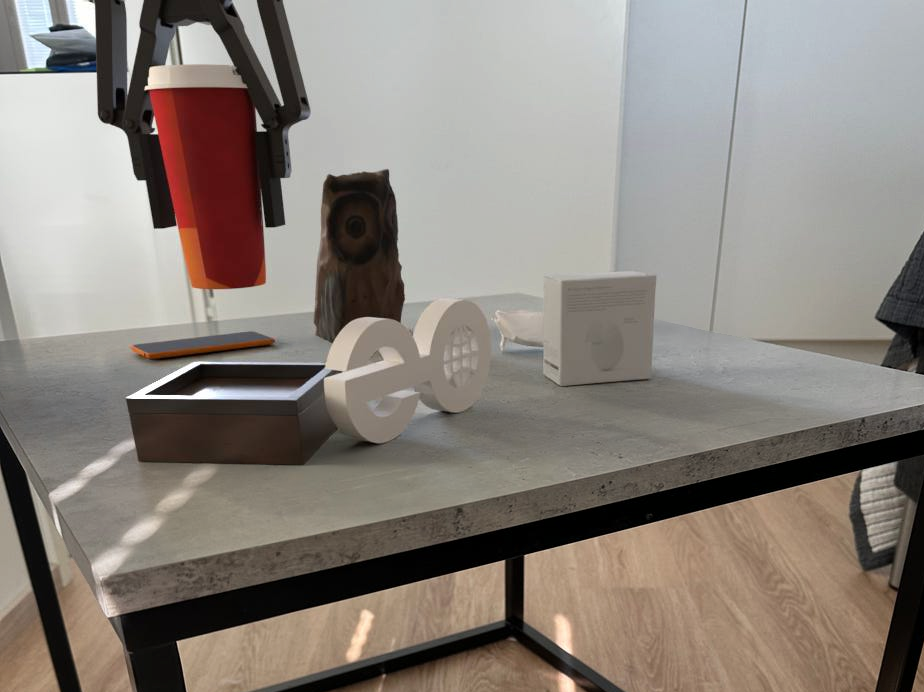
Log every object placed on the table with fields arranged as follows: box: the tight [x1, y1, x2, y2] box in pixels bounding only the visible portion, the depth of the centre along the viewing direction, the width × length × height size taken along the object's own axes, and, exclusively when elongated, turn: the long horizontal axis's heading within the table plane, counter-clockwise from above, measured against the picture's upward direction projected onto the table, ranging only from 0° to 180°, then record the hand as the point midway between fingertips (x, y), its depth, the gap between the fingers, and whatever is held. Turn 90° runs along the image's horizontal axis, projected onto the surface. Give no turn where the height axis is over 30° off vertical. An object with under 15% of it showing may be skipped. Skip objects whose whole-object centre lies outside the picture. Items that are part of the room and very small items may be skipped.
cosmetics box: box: [542, 270, 658, 387], centre depth 98 cm, size 10×6×10 cm, turn 104°
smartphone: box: [130, 330, 276, 360], centre depth 118 cm, size 8×17×1 cm, turn 125°
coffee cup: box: [144, 63, 267, 290], centre depth 71 cm, size 8×8×15 cm
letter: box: [324, 297, 492, 444], centre depth 82 cm, size 22×2×10 cm, turn 148°
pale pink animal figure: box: [490, 309, 544, 354], centre depth 112 cm, size 5×7×10 cm
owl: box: [313, 168, 406, 344], centre depth 118 cm, size 13×13×20 cm
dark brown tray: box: [125, 361, 343, 466], centre depth 80 cm, size 14×14×5 cm
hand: (220, 226), depth 73 cm, fingers closed on coffee cup, 8 cm apart
